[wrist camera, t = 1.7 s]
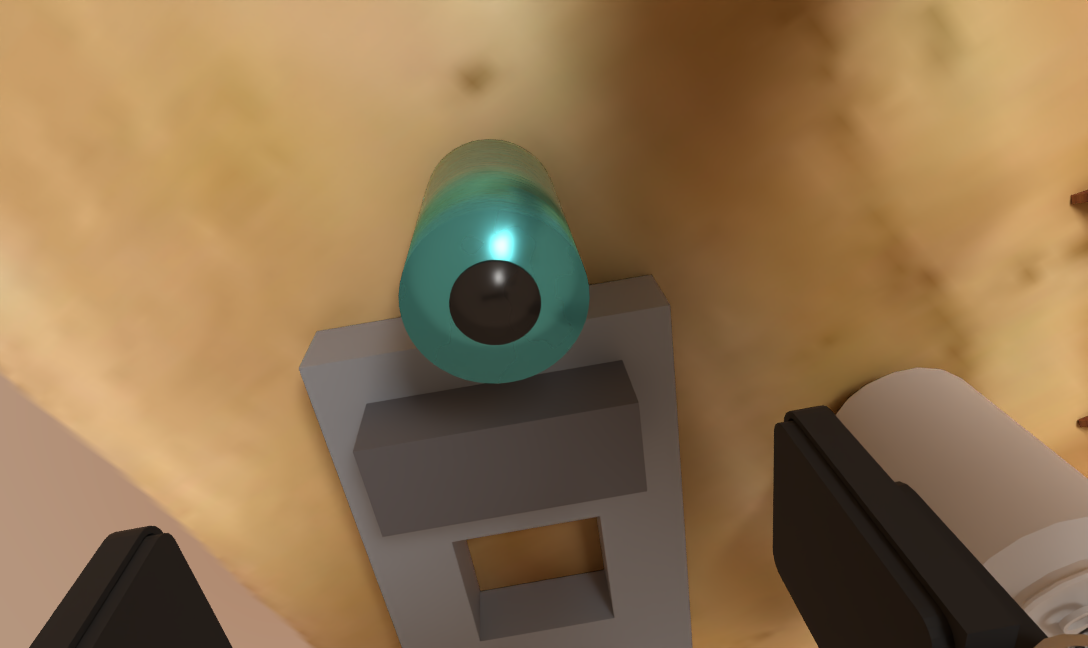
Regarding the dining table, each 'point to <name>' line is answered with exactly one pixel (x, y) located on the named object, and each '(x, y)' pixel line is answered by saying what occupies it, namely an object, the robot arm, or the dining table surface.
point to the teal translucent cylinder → (492, 268)
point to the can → (984, 486)
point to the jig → (515, 478)
